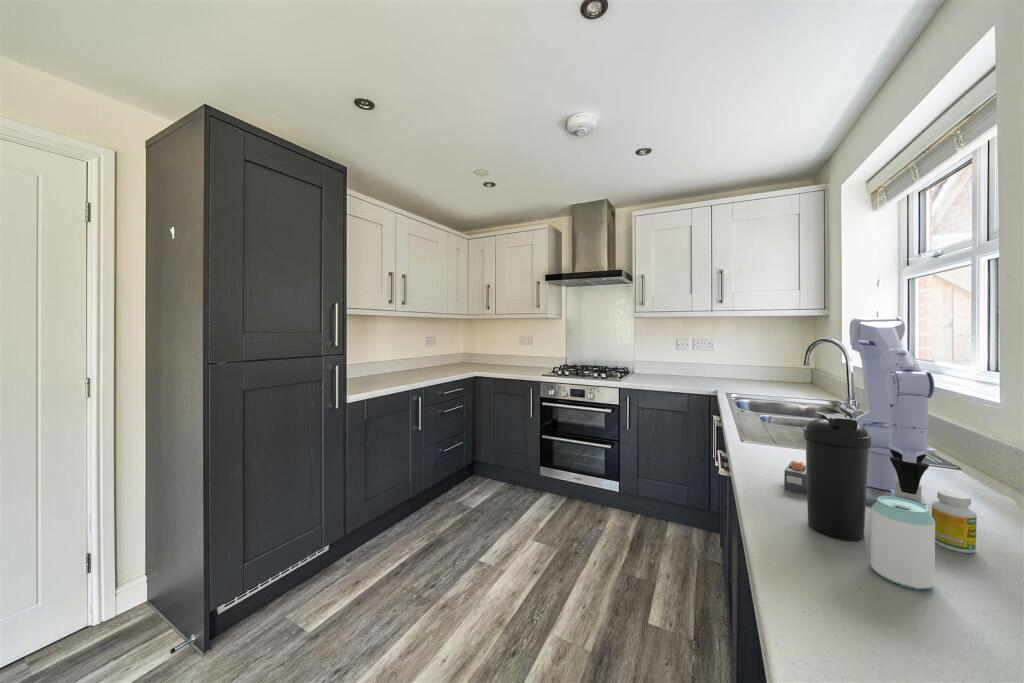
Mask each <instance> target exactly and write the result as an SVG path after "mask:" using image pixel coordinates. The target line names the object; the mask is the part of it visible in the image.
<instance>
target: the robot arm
mask: <svg viewBox="0 0 1024 683" xmlns="http://www.w3.org/2000/svg"><path fill="white" fill-rule="evenodd" d="M905 330H906V326H905V321H904V319H903V318H902V317H900V316H894V317H893V316H892V317H854V318H852V319H851V321H850V323H849V330H848V331H849V340H850V342H849V343H850V346H851V350H853V351H855V352H858V353H859V356H860V360H861V368H862V377H863V378H862V379H863V388H864V398H865V401H864V402H865V411H866V412H864V413H862V414H860V415H858V416H856V417H855V418H854V419H855V420H856V421H857V424H858V425H860V426H862V427H863V428H864V429H865V430H866V431H867V433H868V434H869V435H870V436H871V446H870V448H869V449H868V465H867V485H866V487H869V488H874V489H878V490H884V491H888V492H891V489H893V490H895V479H898V480H899V485H900V489H901V491H902V492H904V493H909V494H914V495H916V493H917V490H918V487H919V483H920V482H921V479H922V477H923V475H924V473H925V472H926V471H927V470H928V469H929V467H930V464H929V463H925V462H923V460H924V459H925V458H926V457H927V454H936V453H937V451H936V448H932V447H928V444H929V443H928V442H929V441H928V438H929V437H928V435H929V434H928V432H929V431H928V430H929V427H928V426H929V399H931V398H932V397H933V396H934V393H935V379H934V376H933V374H932V373H931V371H928V370H926V369H925V368H920V366H919V364H918V362H917V360H916V359H915V357H914V355H913V354H912V352H911V351H909V350H907V349H904V348H903V345H902V342H901V341H902V339H903V337H904V335H905ZM920 484H921V483H920Z"/></svg>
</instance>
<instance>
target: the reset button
mask: <svg viewBox="0 0 1024 683" xmlns="http://www.w3.org/2000/svg"><path fill="white" fill-rule="evenodd" d="M790 463H791V469H795V470H800V471H803V465H804V463H803V462H802V461H798V460H791V461H790Z"/></svg>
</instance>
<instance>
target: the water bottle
mask: <svg viewBox="0 0 1024 683" xmlns="http://www.w3.org/2000/svg"><path fill="white" fill-rule="evenodd" d="M815 414H816V415H819V416H820V418H816V419H812V420H810V421H808V423H807V424H806V425H805V426H804V427H803V431H802V432H803V439H804V440H805V465H806V472H807V495H806V498H807V499H806V501H807V505H806V508H807V525H808V527H809V528H810V529H811V530H812V531H814V532H816V533H818V534H820V535H822V536H825V537H828V538H831V539H836V540H839V541H844V542H852V541H856V542H861V541H863V540H864V539H865V522H866V496H867V486H866V485H867V465H868V449H869V448H870V446H871V436H870V435H869V434H868V433H867V431H866V430H865V429H864V428H863V427H862V426H860V425H858V424H857V421H856V420H855V418H849V417H848V418H847V417H846V415H845V414H844V413H838V412H825V411H824V412H823V411H816V412H815ZM860 540H861V541H860Z"/></svg>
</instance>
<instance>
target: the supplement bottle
mask: <svg viewBox="0 0 1024 683" xmlns="http://www.w3.org/2000/svg"><path fill="white" fill-rule="evenodd" d="M936 498H937V499H938V500H935V501H933V502H932V503H931V517H932V518H933V519H934V521H935V544H937V546H940V547H942V548H945V549H947V550H950V551H954V552H959V553H963V554H973V553H975V552H977V551H976V550H977V518H978V516H977V512H976V511H975V509H973V508H972V507H970V506H971V505H972V497H971V496H970V495H968V494H965V493H961V492H957V491H953V490H944V489H940V490H937V496H936Z"/></svg>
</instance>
